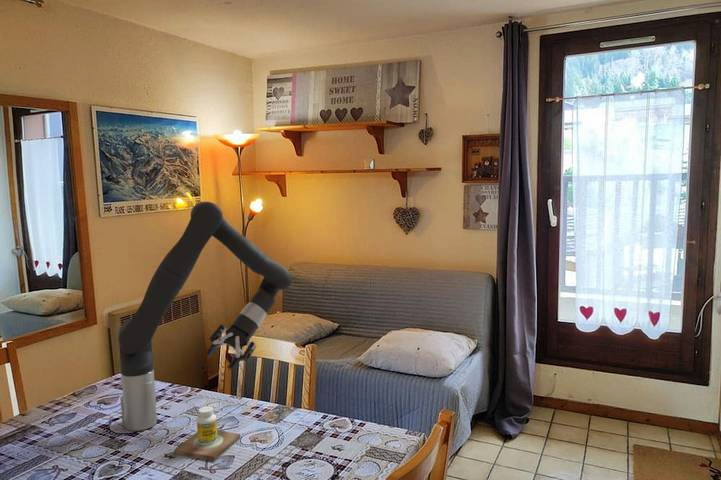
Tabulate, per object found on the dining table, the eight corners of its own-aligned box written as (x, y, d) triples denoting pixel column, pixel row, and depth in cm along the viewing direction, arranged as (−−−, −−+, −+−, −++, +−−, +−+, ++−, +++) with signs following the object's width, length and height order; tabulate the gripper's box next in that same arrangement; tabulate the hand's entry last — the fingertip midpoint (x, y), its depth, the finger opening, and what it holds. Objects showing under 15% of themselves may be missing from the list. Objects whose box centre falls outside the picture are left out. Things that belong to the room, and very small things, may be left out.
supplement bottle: (214, 434, 154) (212, 403, 153) (220, 442, 150) (218, 410, 149) (195, 440, 151) (193, 408, 150) (201, 447, 147) (199, 415, 146)
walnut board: (174, 453, 147) (174, 449, 146) (202, 431, 159) (202, 427, 159) (214, 461, 142) (214, 456, 142) (240, 438, 154) (240, 434, 154)
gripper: (228, 305, 169) (196, 348, 162) (264, 324, 164) (232, 369, 157) (235, 315, 175) (205, 356, 168) (270, 333, 170) (240, 377, 163)
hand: (218, 362), depth 162 cm, fingers open, 8 cm apart
